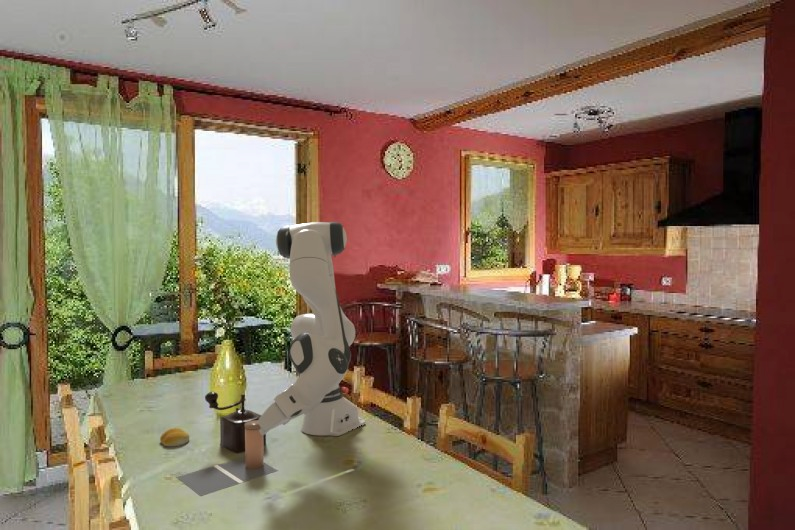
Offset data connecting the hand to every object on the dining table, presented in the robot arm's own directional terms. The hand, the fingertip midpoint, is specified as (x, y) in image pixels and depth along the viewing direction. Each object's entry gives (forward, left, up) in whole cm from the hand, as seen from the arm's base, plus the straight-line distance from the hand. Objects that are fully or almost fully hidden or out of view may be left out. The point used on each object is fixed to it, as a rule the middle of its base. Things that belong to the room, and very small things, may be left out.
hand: (272, 427), depth 150 cm
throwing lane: (+10, -6, -12) cm, 17 cm away
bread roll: (+11, -41, -13) cm, 44 cm away
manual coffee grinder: (-1, -23, -13) cm, 26 cm away
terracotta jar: (+2, -6, -12) cm, 13 cm away
